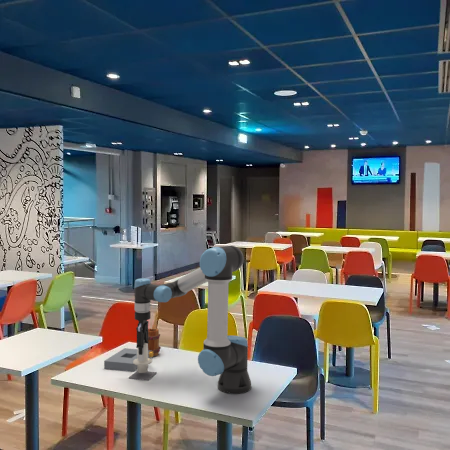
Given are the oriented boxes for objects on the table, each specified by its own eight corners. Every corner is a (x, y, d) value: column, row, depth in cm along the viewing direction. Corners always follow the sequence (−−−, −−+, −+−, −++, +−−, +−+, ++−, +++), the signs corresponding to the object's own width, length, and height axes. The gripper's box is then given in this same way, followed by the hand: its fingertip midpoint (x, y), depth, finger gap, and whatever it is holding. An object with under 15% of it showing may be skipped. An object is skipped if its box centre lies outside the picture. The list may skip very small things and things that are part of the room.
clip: (154, 358, 238) (154, 351, 238) (149, 359, 237) (149, 352, 237) (142, 349, 254) (142, 342, 253) (137, 349, 252) (137, 343, 252)
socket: (133, 371, 235) (133, 361, 234) (104, 368, 239) (104, 358, 239) (151, 357, 256) (151, 348, 256) (124, 355, 260) (124, 346, 260)
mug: (158, 358, 256) (158, 330, 255) (143, 357, 256) (143, 330, 255) (162, 349, 270) (162, 323, 270) (148, 349, 271) (148, 323, 270)
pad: (148, 380, 223) (148, 379, 223) (128, 378, 225) (128, 377, 225) (156, 373, 232) (156, 372, 232) (137, 371, 235) (137, 370, 235)
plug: (147, 375, 223) (147, 343, 223) (129, 373, 226) (129, 342, 225) (155, 368, 232) (155, 338, 231) (138, 367, 234) (138, 336, 234)
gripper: (145, 315, 218) (145, 365, 219) (154, 307, 236) (154, 353, 237) (129, 315, 219) (129, 364, 220) (140, 306, 237) (140, 352, 238)
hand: (142, 358), depth 229 cm, fingers closed on plug, 5 cm apart
